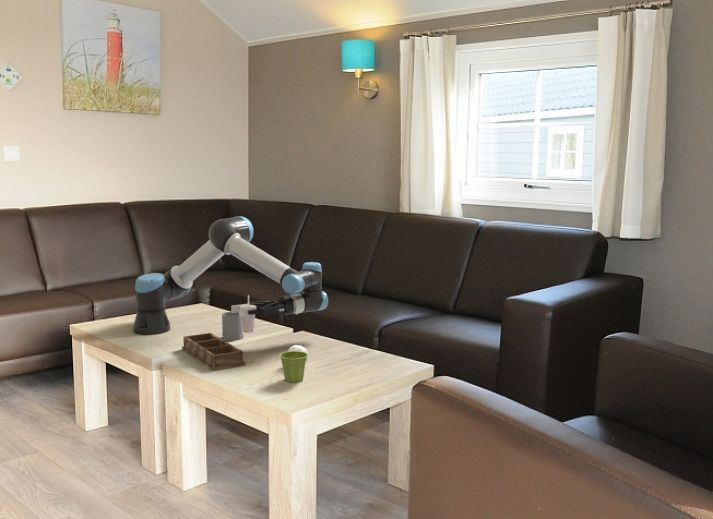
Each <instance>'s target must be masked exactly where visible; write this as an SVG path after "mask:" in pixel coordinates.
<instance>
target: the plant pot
mask: <svg viewBox="0 0 713 519" xmlns="http://www.w3.org/2000/svg"><path fill="white" fill-rule="evenodd" d="M307 357H308V358H309V353H308V354H307V353H305V352H300V351H289V352H287V351H284V352H282V353H279V358H280V361H281V364H282V370H283V376H284V381H286V382H289V383H299V382H300V381H301V382H302V381H304V375H305V369H306V363H307V361H306V359H307ZM305 362H306V363H305Z"/></svg>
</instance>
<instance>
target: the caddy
mask: <svg viewBox="0 0 713 519" xmlns="http://www.w3.org/2000/svg"><path fill="white" fill-rule="evenodd" d="M181 348H182V350H183V351H184V352H185V353H187V354H188V355H190V356H191V357H193V358H194V359H196V360H197V361H199V362H200V363H201V364H203V365H205V366H206V367H207V368H209V369H210V370H211V371H218V370H219V371H220V370H224V369H231V368H235V367H243V366H246V362H245V361H244V351H243V350H241V349H240V348H238V347H236V346H234V345H232V344H231V343H229V342H227V340H223V338H221V337H219V336H217V335H216V334H214V333H212V332H207V333H206V332H205V333H198V334H193V335H184V336H183V346H181Z"/></svg>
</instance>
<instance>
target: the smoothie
mask: <svg viewBox="0 0 713 519" xmlns="http://www.w3.org/2000/svg"><path fill="white" fill-rule="evenodd" d="M247 302H248V305H243V304H241V305H242V306H240V309H246V308H256V306H255V305H249V302H250V295H249V294H247ZM241 318H242V325H243V333H247V334H249V333H253V332H254V327H255V319H256V315H251V316H243V317H241Z"/></svg>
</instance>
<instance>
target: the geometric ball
mask: <svg viewBox="0 0 713 519" xmlns="http://www.w3.org/2000/svg"><path fill="white" fill-rule="evenodd" d="M289 351H300V352H305V353H307V354H308V355H309V353H308V350H307V349H306V348H305V347H304V346H302V345H298V344H294V345H292V346H290V347H289V348H288V349H287V351H286V352H289ZM308 358H309V356H308V357H307V359H306V362H305V364H306V363H307V361H308Z"/></svg>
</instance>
